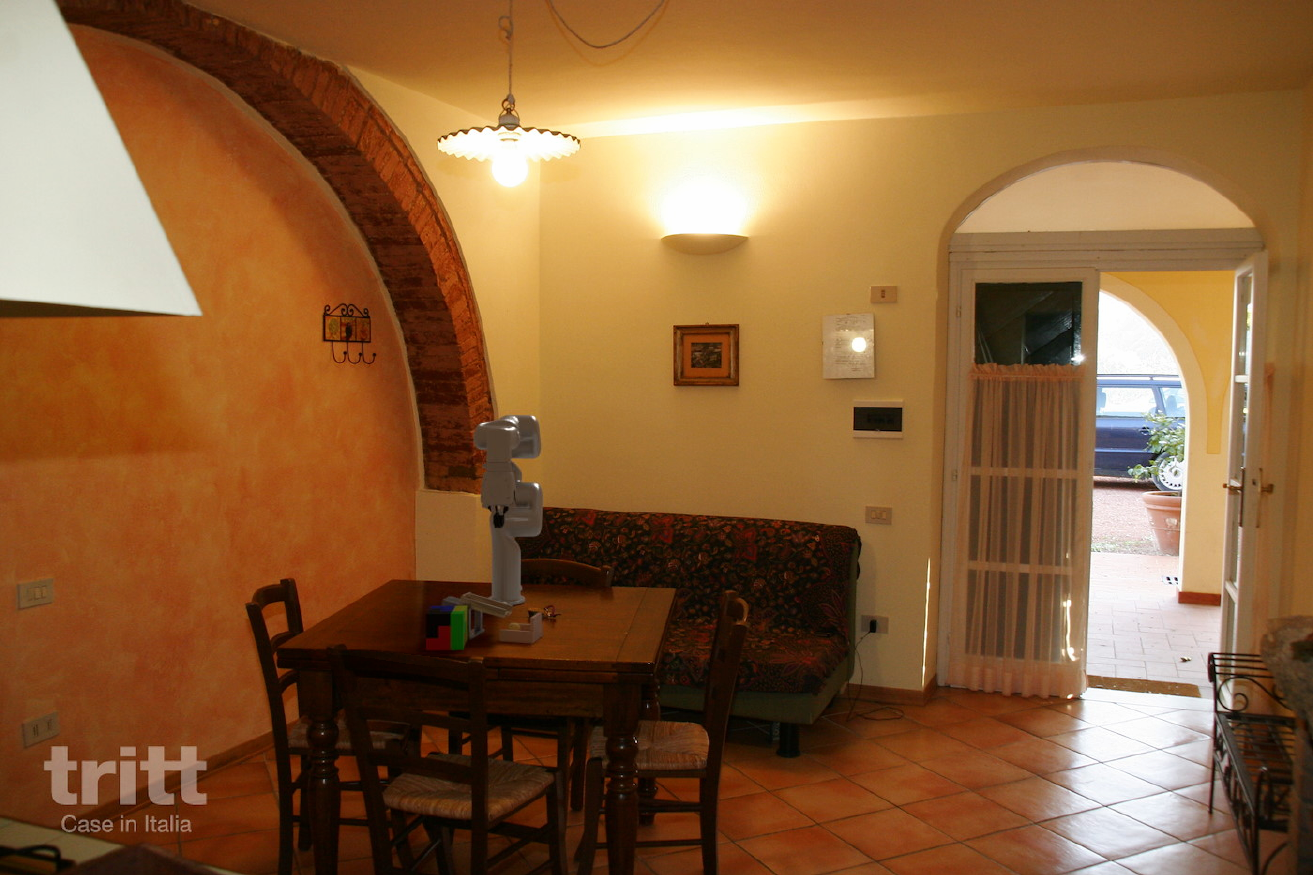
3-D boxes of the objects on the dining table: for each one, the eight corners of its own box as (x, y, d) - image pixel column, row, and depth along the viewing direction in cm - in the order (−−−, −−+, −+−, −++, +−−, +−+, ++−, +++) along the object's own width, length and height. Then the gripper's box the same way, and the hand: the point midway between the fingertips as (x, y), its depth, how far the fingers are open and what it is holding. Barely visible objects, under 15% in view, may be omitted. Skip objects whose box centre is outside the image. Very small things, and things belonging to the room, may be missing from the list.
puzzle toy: (431, 640, 267) (431, 605, 266) (467, 640, 267) (467, 605, 267) (426, 650, 257) (425, 614, 256) (463, 649, 257) (463, 613, 257)
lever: (457, 604, 283) (461, 582, 283) (516, 621, 279) (521, 599, 279) (438, 613, 272) (443, 590, 271) (500, 631, 268) (505, 608, 267)
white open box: (511, 633, 275) (511, 609, 275) (542, 635, 273) (542, 612, 272) (499, 641, 267) (499, 616, 266) (532, 643, 264) (532, 618, 264)
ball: (517, 618, 272) (524, 628, 271) (508, 626, 272) (515, 636, 272) (512, 621, 268) (520, 632, 268) (503, 629, 269) (510, 639, 268)
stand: (474, 630, 278) (474, 596, 278) (484, 631, 277) (484, 597, 277) (460, 638, 268) (460, 604, 268) (470, 639, 268) (470, 604, 267)
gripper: (471, 468, 285) (471, 528, 286) (517, 469, 282) (517, 530, 283) (481, 466, 292) (481, 524, 293) (526, 467, 289) (526, 527, 290)
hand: (498, 527), depth 288 cm, fingers closed
